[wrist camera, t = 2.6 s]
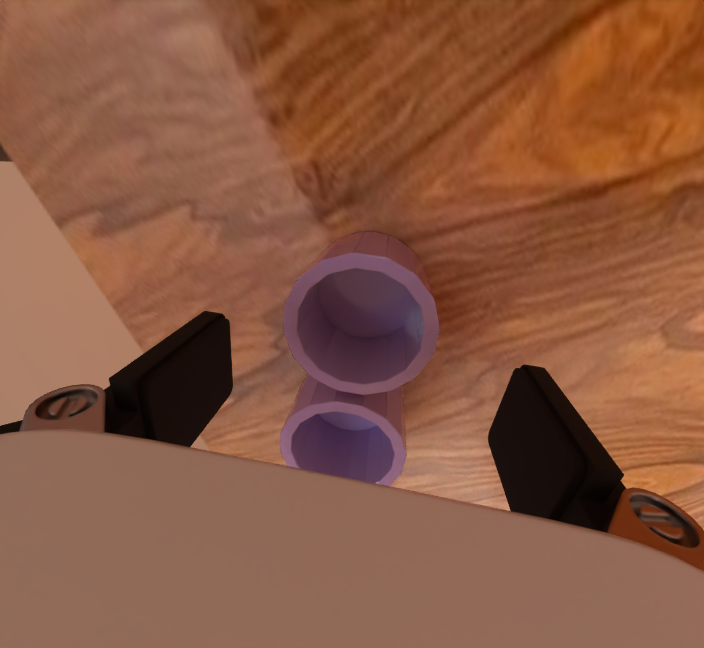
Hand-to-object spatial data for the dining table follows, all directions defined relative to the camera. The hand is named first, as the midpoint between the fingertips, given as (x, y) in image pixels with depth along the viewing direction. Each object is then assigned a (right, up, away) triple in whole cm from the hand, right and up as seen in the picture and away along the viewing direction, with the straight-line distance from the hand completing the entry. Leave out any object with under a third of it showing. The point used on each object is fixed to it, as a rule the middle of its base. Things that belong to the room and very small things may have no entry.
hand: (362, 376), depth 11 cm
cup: (+1, +4, +7) cm, 8 cm away
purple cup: (0, -3, +10) cm, 11 cm away
